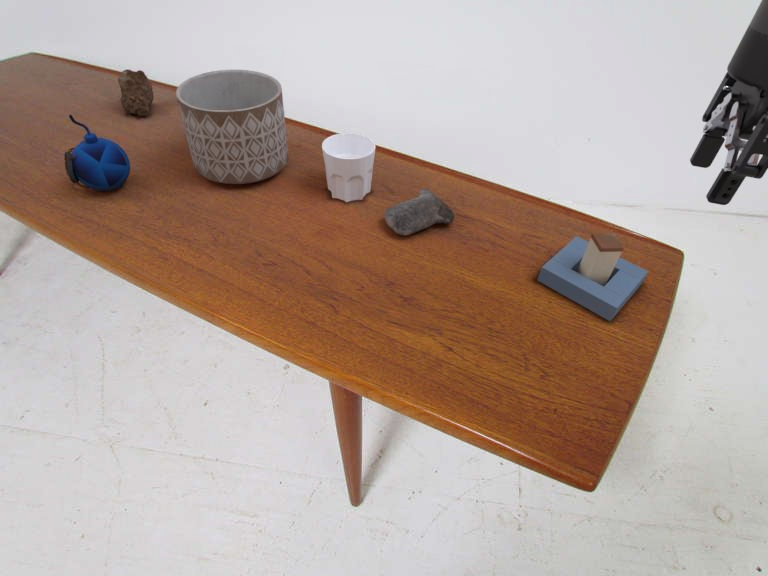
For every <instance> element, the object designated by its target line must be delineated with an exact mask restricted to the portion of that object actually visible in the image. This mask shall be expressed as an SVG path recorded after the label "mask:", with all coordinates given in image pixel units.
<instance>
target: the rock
mask: <svg viewBox="0 0 768 576" xmlns="http://www.w3.org/2000/svg"><path fill="white" fill-rule="evenodd" d="M117 79H118V80H117V82H118V85H119V88H120V93H121V97H120V103H121V105H122V108H123V111H124V112H125V113H126V114H129V115H131V114H134V115H137V116H138V117H142V118H143V117H144V118H146V117H147V116H148V115H149V113H150V106H151V105H153V101H154V91H153V85H152V84H151V82H150V80H149V77H147V75H146V73H145V71H143V70H140V69H139V70H137V71H135V70H131V69H124V70H122V72H121V73H120V74H119V76H118V77H117Z"/></svg>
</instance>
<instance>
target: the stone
mask: <svg viewBox="0 0 768 576" xmlns="http://www.w3.org/2000/svg"><path fill="white" fill-rule="evenodd" d="M417 195H418V196H417V197H413V198H411V199H408V200H405V201H403V202H401V203H398V204H395V205H393V206H391V207H390V208H386V209H385V210H384V219H385V222H386V224H387V226H388V227H389V228H390V229H391V230H392V231H394V232H395V234H397V235H400V236H403V237H404V236H409V235H413V234H415V233H418V232H421V231H422V230H425V229H428V228H430V227H432V226H433V225H436V224H446V225H449V224H453V222H454V220H455V214H454V212H453V210H452V209H451V207H450V206H449V205H448V204H447V203H446V202H444V201H443V200H442V199H441V198H440V197H438V196H437V195H436V194H435V193H434V192H432V191H431V190H429V189H428V188H422V189H421V190H420V191H419V193H418V194H417Z"/></svg>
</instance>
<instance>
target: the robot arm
mask: <svg viewBox="0 0 768 576" xmlns="http://www.w3.org/2000/svg"><path fill="white" fill-rule="evenodd" d="M726 70H727V71H726V73H725V74H724V77H723V78H722V80H721V82H720V83H719V86H718V88H717V90H716V91H715V93H714V95H713V96H712V99H711V101H710V102H709V104H708V106H707V108H706V110H705V112H704V113H703V115H702V118H701V121H702V122H703V123H705V124H704V126H703V127H702V133H703V135H702V137H701V138H700V140H699V142H698V143H697V145H696V147H695V149H694V151H693V154H692V155H691V156H690V158H689V162H690V164H691V166H692V167H696V168H704V169H707V168H710V167H711V166H712V164H713V162H714V161H715V159H716V157H717V155H718V153H719V151H720V150H721V148H722V146H723V145H724V148H725V149H726V150H727V154H726V158H725V162H724V164H723V165H724V166H723V168H721V170H720V172H719V173H718V175H717V177H716V178H715V180H714V182H713V183H712V185H711V187H710V189H709V190H708V191H707V194H706V195H705V197H706V199H707V202H708V203H710V204H714V205H721V206H726V205H729V204H730V202H731V201H732V199H733V198H734V197H735V195H736V193H737V192H738V190H739V188H740V187H741V185H742V184H743V182H744V180H745V179H746V178H747V177H748V178H753V179H757V180H761V179H762V178H763V177H764V176H765V173H767V170H768V0H761V1H760V3H759V5H758V6H757V9H756V11H755V13H754V15H753V16H752V19H751V21H750V23H749V24H748V26H747V28H746V30H745V32H744V34H743V36H742V38H741V40H740V42H739V44H738V45H737V47H736V49H735V51H734V53H733V55H732V57H731V59H730V61H729V63H728V65H727V67H726ZM739 153H740V154H739ZM760 155H761V158H760Z"/></svg>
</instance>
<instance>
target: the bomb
mask: <svg viewBox="0 0 768 576" xmlns="http://www.w3.org/2000/svg"><path fill="white" fill-rule="evenodd" d="M68 118H69V120H70V121H71V122H72V123H73V124H75V125H76V126H77V125H78V126H80V127H82V128H83V129H84V130H85V132H86V134H84V135H83V139H84V140H82V141H80V142H79V143H78V144H77V145H75V147H71V148H69V149H68V150H67V151H65V152H64V168H65V171H66V176H68V178H69V180H70V182H71V183H72V184H76V185H78V186H79V187H81V188H84V189H87V190H90V189H92V190H95V191H99V192H109V191H113V190H116V189H118V188H120V187H121V186H122V185H123V184H125V183H126V182H127V179H128V178H129V176H130V173H131V162H130V158H129V156H128V155H127V153H126V151H125V150H124V149H123V147H122V146H120V144H118V143H117V142H115V141H112V140H111V139H107V138H105V137H98V136H97V134H95V133H94V132H91V131H90V129H89V127H88V126H87V125H85V124H84V123H81V122H79V121H78V120H75V119H74V117H73V115H72V114H68Z"/></svg>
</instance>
